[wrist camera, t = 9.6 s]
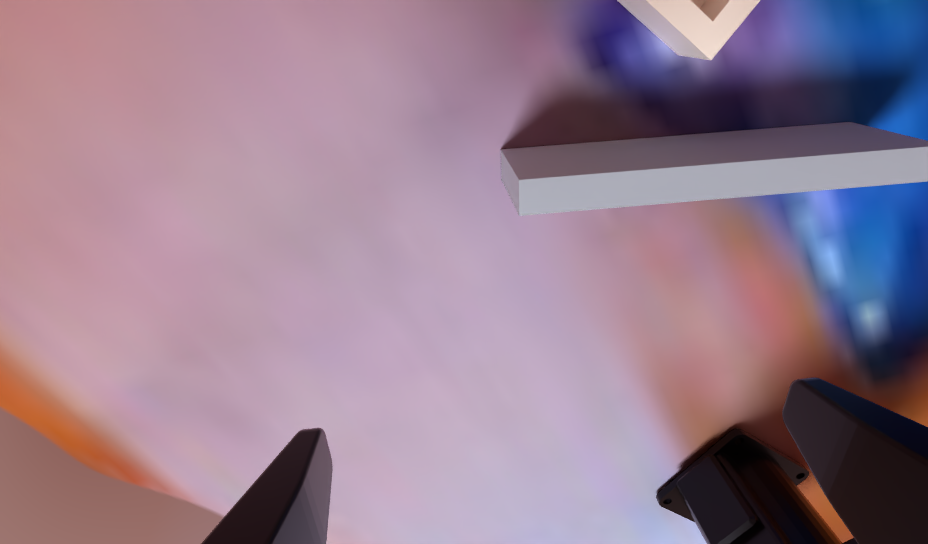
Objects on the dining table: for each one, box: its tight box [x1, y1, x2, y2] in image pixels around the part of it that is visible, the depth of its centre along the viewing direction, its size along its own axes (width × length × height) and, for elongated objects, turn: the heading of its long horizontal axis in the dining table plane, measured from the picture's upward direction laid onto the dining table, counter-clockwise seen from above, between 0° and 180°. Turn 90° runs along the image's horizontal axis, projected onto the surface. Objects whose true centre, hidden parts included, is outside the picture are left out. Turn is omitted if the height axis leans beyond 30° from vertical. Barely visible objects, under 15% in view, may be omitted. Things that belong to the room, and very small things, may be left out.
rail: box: [501, 122, 928, 216], centre depth 18 cm, size 14×1×4 cm, turn 93°
